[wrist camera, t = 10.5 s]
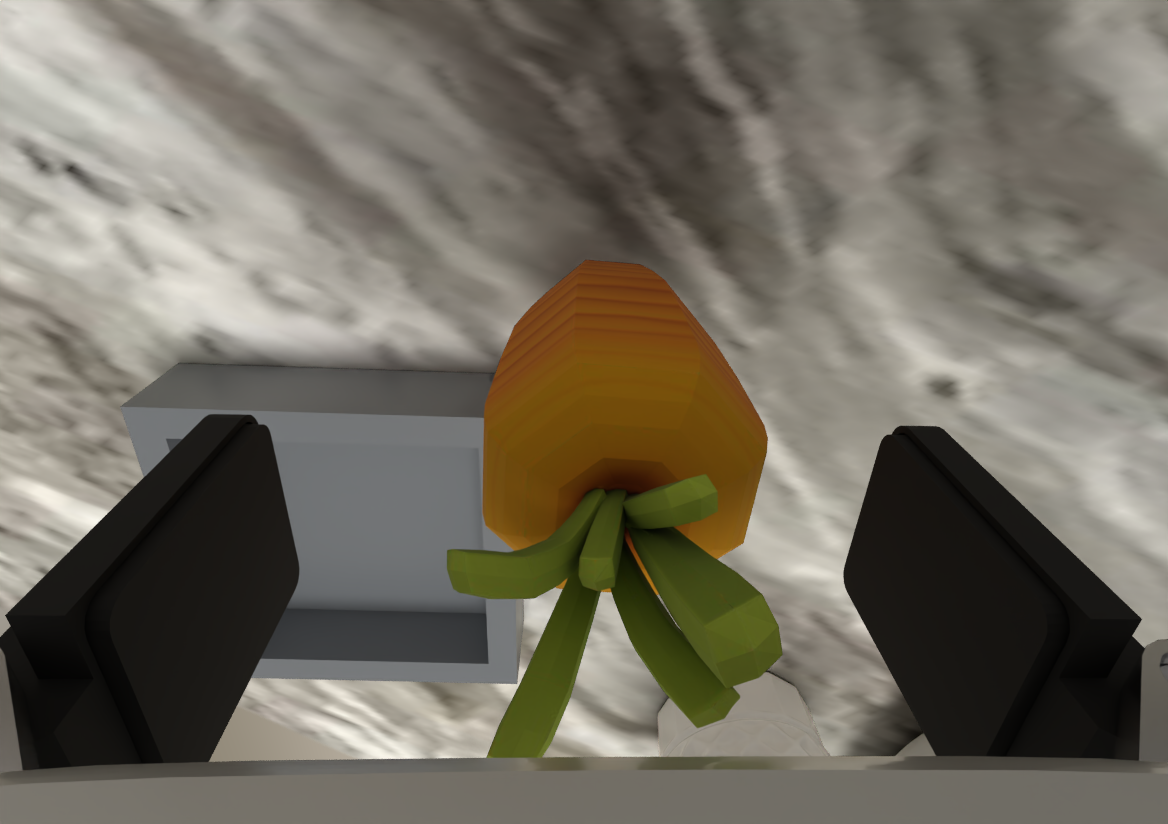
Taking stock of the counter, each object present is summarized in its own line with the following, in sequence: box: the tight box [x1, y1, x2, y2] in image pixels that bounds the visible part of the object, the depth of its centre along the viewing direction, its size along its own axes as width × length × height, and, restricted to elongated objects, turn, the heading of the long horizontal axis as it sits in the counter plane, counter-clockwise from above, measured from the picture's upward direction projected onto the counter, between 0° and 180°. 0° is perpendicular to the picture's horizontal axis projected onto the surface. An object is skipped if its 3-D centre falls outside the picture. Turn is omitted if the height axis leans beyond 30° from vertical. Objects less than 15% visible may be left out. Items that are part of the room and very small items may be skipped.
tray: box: [120, 363, 524, 684], centre depth 22 cm, size 11×11×3 cm
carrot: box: [447, 260, 783, 758], centre depth 13 cm, size 5×5×15 cm
